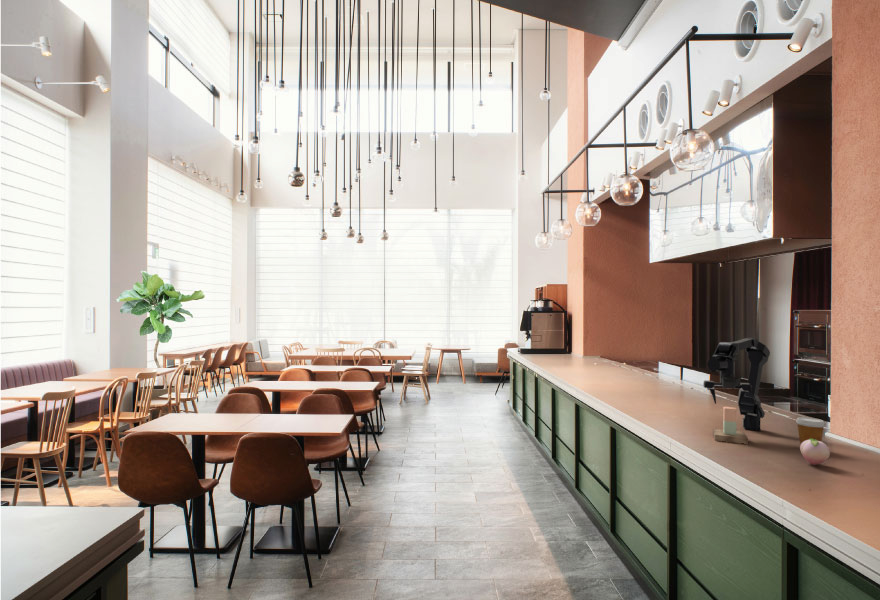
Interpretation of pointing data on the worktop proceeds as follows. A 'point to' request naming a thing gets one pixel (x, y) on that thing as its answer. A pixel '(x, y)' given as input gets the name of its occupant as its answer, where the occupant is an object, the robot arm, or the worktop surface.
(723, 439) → the walnut base
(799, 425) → the disposable coffee cup
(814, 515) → the worktop surface
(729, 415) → the terracotta block
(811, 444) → the decorative fruit
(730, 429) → the green block
